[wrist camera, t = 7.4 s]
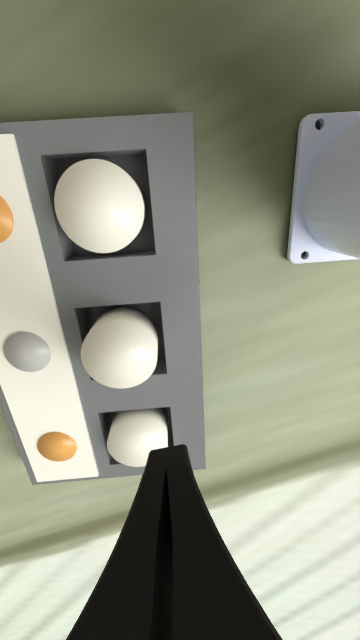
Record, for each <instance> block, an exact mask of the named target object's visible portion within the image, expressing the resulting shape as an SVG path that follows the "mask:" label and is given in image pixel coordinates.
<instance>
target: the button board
mask: <svg viewBox="0 0 360 640" xmlns="http://www.w3.org/2000/svg"><path fill="white" fill-rule="evenodd" d="M86 159H101V160H106V161H109V162H111V163H113V164H116V165H117V166H119V167H120V168H122V169H123V170H124V171H125V172H126V173H127V174H128V175H130V176H131V177H132V178H133V179H134V181H135V182H136V183H137V184H138V186H139V187H140V189H141V191H142V193H143V196H144V199H145V204H146V217H145V222H144V225H143V227H142V229H141V231H140V233H139V234H138V235H137V236H136V237H135V239H134V240H133V241H132V242H131V243H129V244H128V245H127V246H126V247H124V248H122V249H120V250H118V251H115V252H111V253H96V252H92V251H89V250H86V249H84V248H82V247H80V246H79V245H77V244H76V243H74V242H73V241H72V240H71V239H70V238H69V237H68V236H67V235H66V233H65V232H64V230H63V229H62V227H61V225H60V224H59V221H58V219H57V216H56V212H55V206H54V196H55V190H56V186H57V183H58V181H59V179H60V177H61V176H62V174H63V173H64V172H65V171H66V170H67V169H68V168H69V167H70V166H72V165H73V164H75V163H77V162H79V161H82V160H86ZM115 308H131V309H134V310H137V311H139V312H141V313H143V314H145V315H146V316H147V317H148V318H149V319H150V320H151V321H152V322H153V324H154V325H155V327H156V330H157V333H158V355H157V364H156V367H155V369H154V371H153V373H152V374H151V376H150V377H149V378H148V379H147V380H146V381H144V382H143V383H141V384H139V385H137V386H134V387H131V388H123V389H119V388H111V387H108V386H105V385H102V384H100V383H99V382H97V381H95V380H94V379H93V378H92V377H91V376H90V375H89V374H88V373H87V372H86V370H85V368H84V366H83V364H82V361H81V347H82V344H83V341H84V339H85V338H86V336H87V334H88V333H89V331H90V329H91V328H92V326H93V325H94V323H95V321H96V320H97V319H98V318H99V317H100V316H101V315H102V314H103V313H105V312H107V311H109V310H111V309H115ZM0 403H1V406H2V408H3V411H4V414H5V416H6V419H7V421H8V424H9V426H10V429H11V431H12V434H13V437H14V439H15V442H16V444H17V447H18V449H19V452H20V454H21V457H22V460H23V462H24V465H25V467H26V470H27V472H28V475H29V477H30V480H31V483H32V485H36V484H47V483H58V482H68V481H79V480H90V479H101V478H111V477H122V476H133V475H143V472H144V469H145V466H143V467H132V466H127V465H124V464H122V463H119V462H118V461H116V460H115V459H114V458H113V457H112V456H111V455H110V453H109V451H108V448H107V441H108V436H109V432H110V428H111V424H112V420H113V416H114V413H115V411H127V410H138V409H150V408H161V407H162V408H163V410H164V411H165V413H166V415H167V428H168V447H171V446H176V445H181V444H184V445H186V446H187V449H188V453H189V457H190V462H191V466H192V470H198V469H206V465H205V436H204V408H203V379H202V351H201V323H200V294H199V266H198V237H197V209H196V181H195V152H194V124H193V112H180V113H162V114H145V115H127V116H109V117H92V118H74V119H57V120H39V121H22V122H4V123H0Z"/></svg>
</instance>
